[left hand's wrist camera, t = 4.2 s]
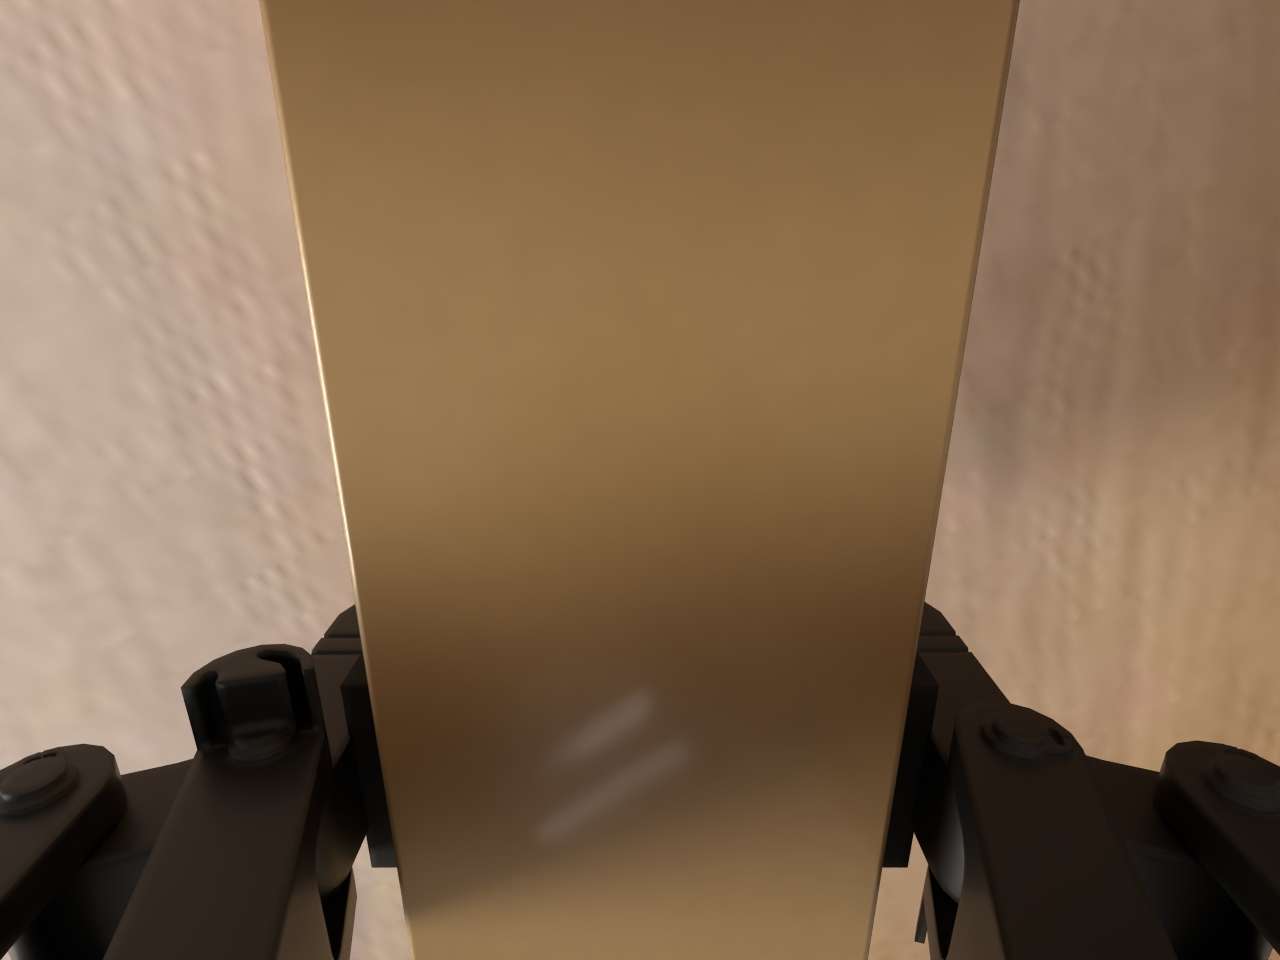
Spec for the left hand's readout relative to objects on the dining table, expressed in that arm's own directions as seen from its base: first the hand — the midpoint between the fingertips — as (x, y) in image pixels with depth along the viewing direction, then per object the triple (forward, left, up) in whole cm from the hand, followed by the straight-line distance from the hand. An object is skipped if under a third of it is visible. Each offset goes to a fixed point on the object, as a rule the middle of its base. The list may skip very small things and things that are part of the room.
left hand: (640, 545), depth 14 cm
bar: (+8, 0, -1) cm, 8 cm away
